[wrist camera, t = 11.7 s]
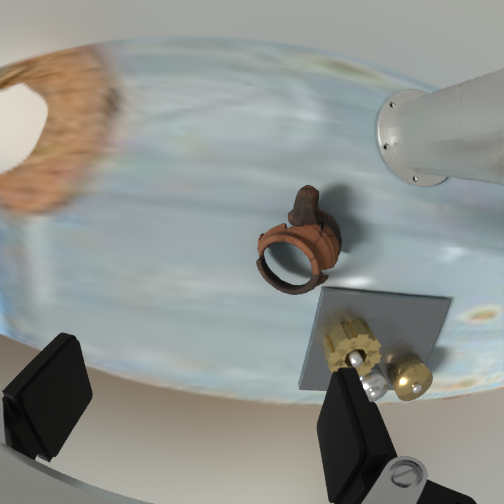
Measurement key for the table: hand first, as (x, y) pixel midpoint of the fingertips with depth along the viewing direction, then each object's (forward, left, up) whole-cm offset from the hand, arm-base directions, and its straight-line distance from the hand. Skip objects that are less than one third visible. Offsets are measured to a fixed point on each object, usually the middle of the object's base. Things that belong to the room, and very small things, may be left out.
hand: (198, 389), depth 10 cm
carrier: (-12, +22, -28) cm, 37 cm away
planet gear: (-8, +19, -26) cm, 33 cm away
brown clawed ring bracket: (-6, +3, -28) cm, 29 cm away
